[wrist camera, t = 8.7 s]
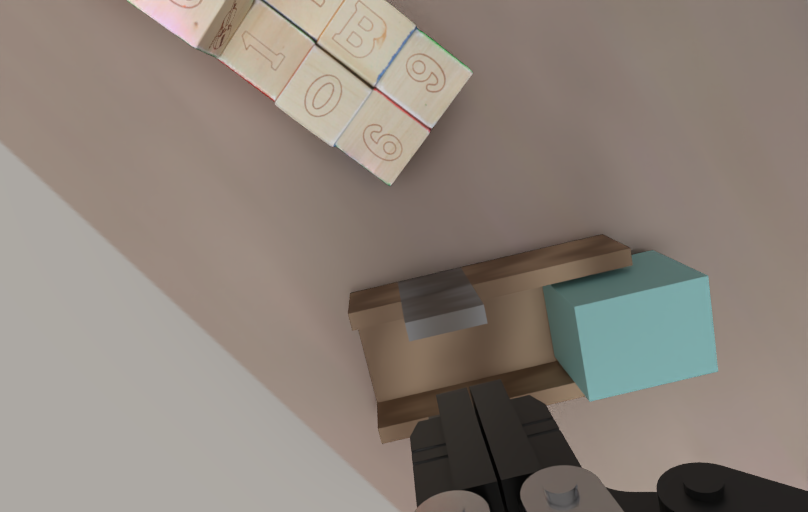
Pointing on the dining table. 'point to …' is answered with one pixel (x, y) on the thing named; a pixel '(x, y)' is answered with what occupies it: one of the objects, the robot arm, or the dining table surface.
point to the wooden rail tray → (471, 330)
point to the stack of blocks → (330, 68)
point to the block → (633, 326)
